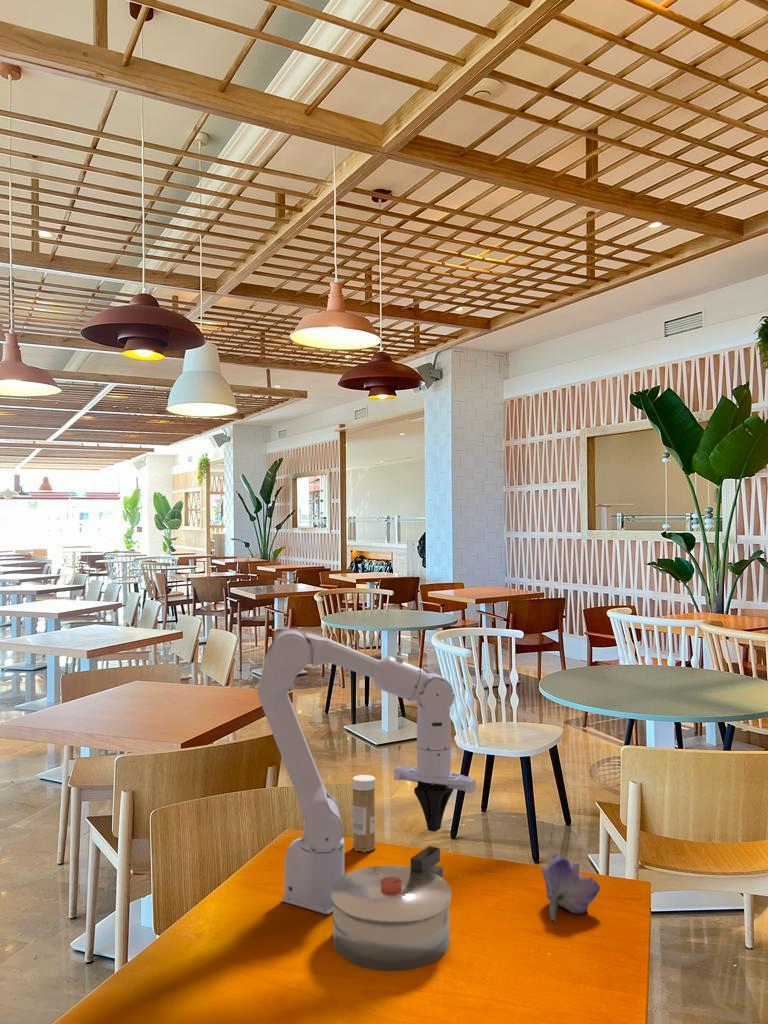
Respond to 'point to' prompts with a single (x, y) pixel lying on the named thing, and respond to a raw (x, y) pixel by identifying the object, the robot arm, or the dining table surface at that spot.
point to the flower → (568, 886)
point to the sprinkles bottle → (363, 812)
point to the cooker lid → (393, 891)
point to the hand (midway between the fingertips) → (434, 829)
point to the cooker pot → (392, 940)
